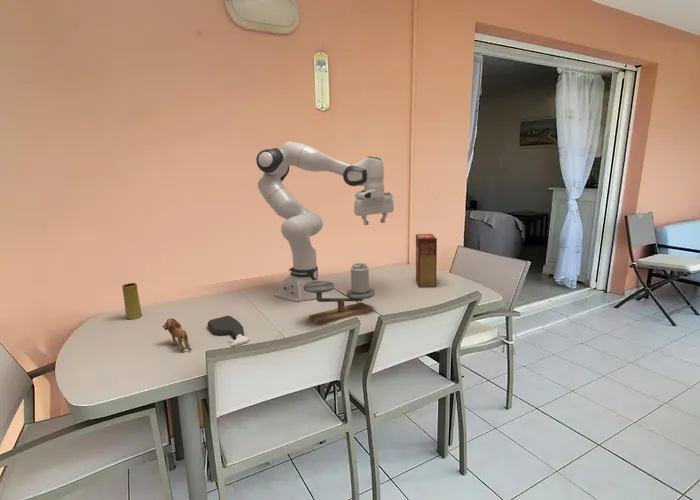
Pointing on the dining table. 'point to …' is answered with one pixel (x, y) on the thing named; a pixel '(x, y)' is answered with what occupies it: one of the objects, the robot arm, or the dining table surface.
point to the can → (360, 278)
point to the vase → (131, 301)
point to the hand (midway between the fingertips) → (374, 223)
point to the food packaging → (426, 260)
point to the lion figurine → (177, 333)
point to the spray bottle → (228, 329)
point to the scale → (341, 310)
